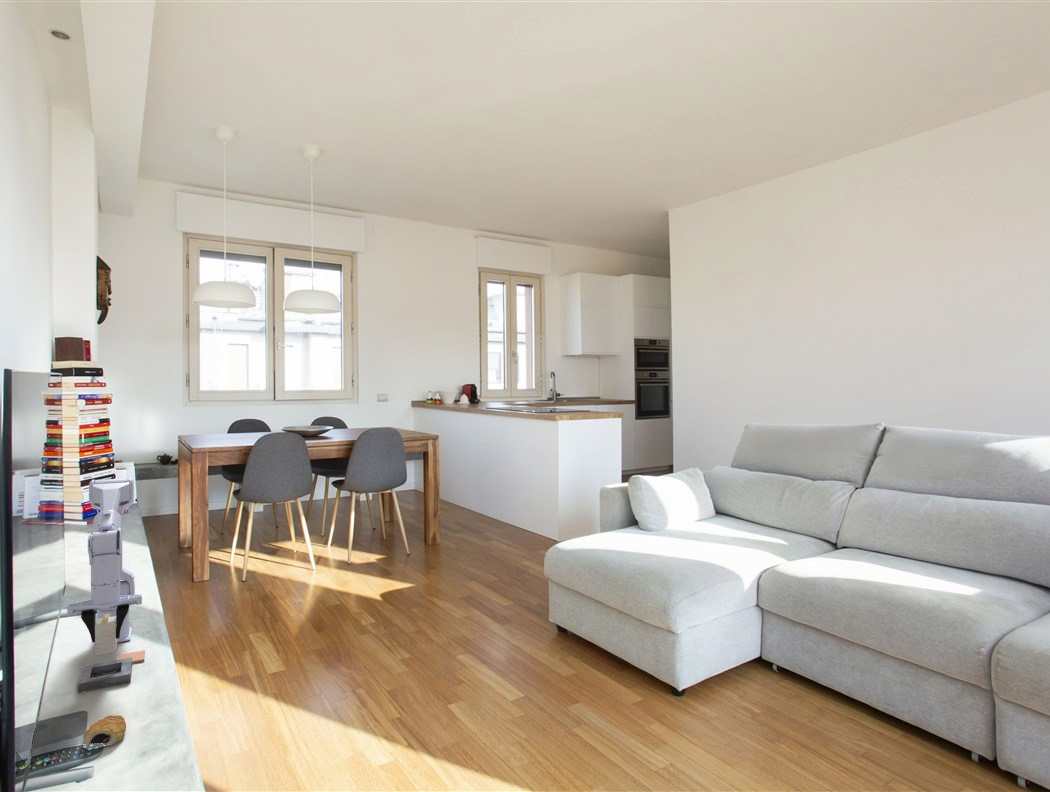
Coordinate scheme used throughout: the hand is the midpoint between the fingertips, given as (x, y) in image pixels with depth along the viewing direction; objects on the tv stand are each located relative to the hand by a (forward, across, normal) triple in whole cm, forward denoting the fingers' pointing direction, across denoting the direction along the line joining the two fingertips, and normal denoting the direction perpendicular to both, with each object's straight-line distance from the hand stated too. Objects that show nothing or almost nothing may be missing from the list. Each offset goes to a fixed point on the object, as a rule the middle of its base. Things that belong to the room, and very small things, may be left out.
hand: (106, 639), depth 147 cm
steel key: (+3, 0, 0) cm, 3 cm away
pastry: (+10, +2, -29) cm, 31 cm away
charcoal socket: (+9, 0, 0) cm, 9 cm away
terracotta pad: (+9, +4, +9) cm, 14 cm away
